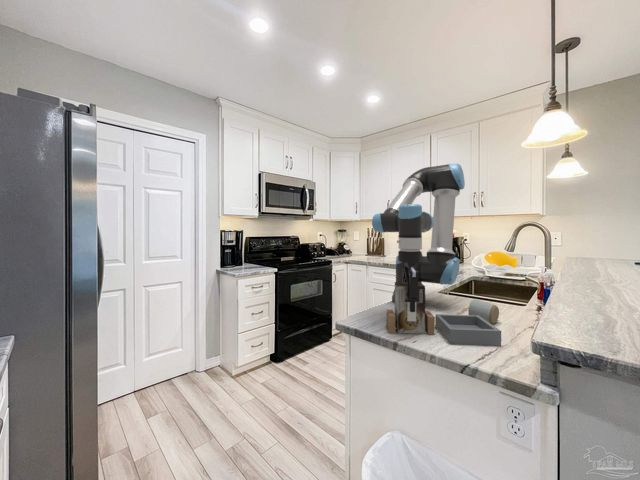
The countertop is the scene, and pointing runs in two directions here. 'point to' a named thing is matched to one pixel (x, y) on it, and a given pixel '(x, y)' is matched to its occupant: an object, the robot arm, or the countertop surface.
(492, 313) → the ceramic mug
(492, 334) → the tray
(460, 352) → the countertop surface
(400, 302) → the coffee box
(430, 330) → the wooden blocks
